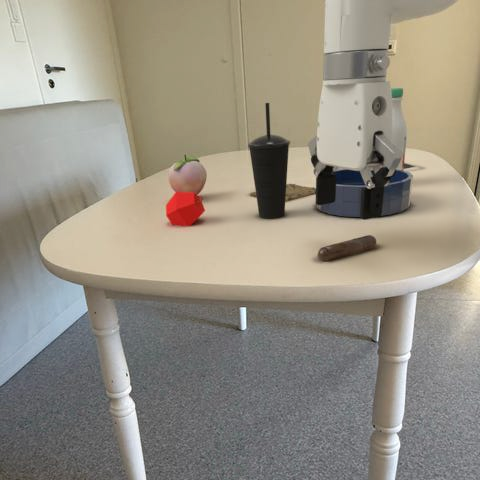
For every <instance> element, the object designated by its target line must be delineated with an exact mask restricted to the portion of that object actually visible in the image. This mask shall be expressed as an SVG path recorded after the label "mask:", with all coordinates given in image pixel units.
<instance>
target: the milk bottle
mask: <svg viewBox="0 0 480 480" xmlns="http://www.w3.org/2000/svg"><path fill="white" fill-rule="evenodd" d="M391 93H392V118H393V122H392V143H393V144H394V145H395V146H396V147H397V148H398V149H399V150H400V151H401V152H402V154H403V156H402V159H401V161H400V163H399V165H398V167H397V169H398V170H404V171H405V169H404V163H405V157H406V147H407V134H408V133H407V131H408V129H407V123H406V120H405V117H404V114H403V110H402V109H403V108H402V100H403V96H404V88H402V87H393V88H392V87H391Z"/></svg>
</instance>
